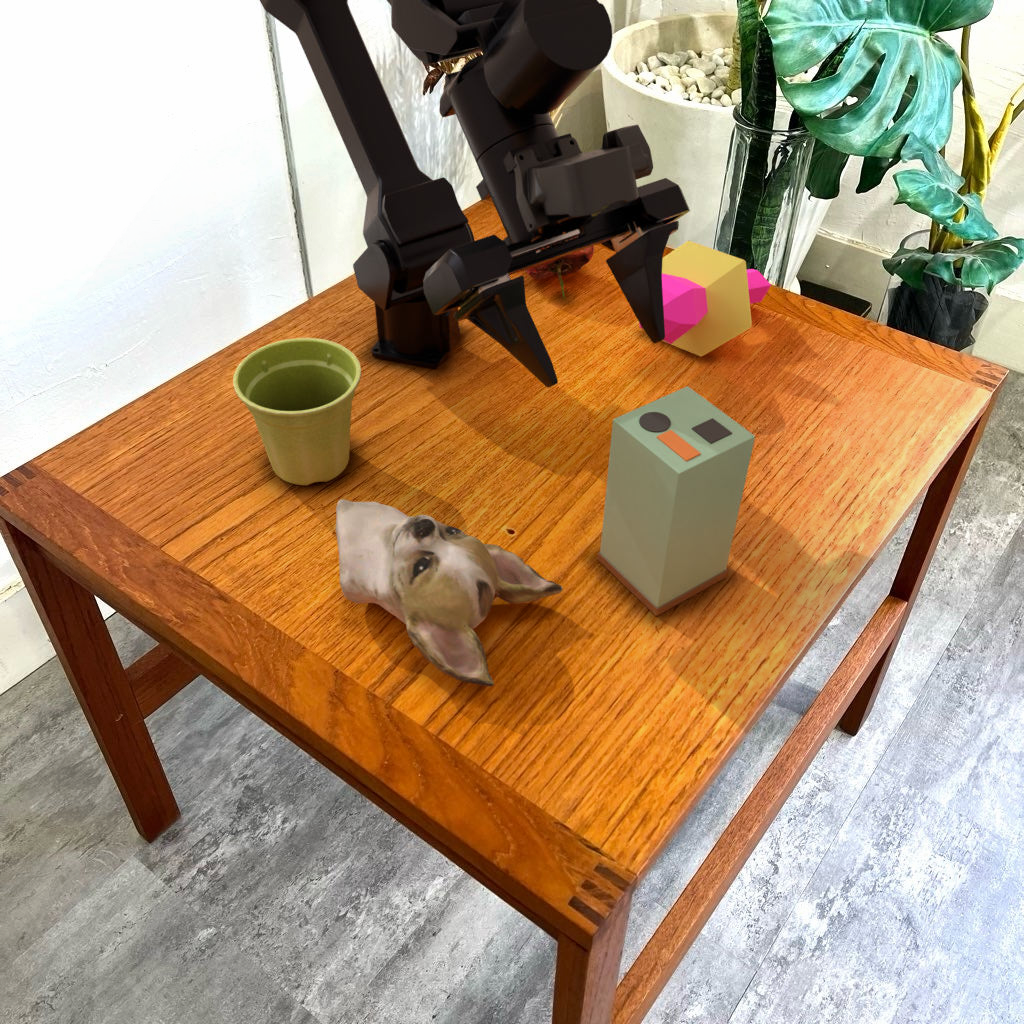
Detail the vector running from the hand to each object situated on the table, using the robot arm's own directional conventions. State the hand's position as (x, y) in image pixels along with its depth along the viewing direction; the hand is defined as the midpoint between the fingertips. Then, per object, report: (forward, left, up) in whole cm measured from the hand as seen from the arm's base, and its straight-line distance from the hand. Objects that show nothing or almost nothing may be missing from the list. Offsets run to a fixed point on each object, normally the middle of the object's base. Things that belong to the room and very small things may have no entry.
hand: (607, 362), depth 70 cm
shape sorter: (+6, -5, -13) cm, 16 cm away
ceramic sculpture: (-8, -14, -14) cm, 21 cm away
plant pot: (-23, -2, -14) cm, 27 cm away
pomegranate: (-12, +31, -14) cm, 36 cm away
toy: (+3, +25, -14) cm, 29 cm away
